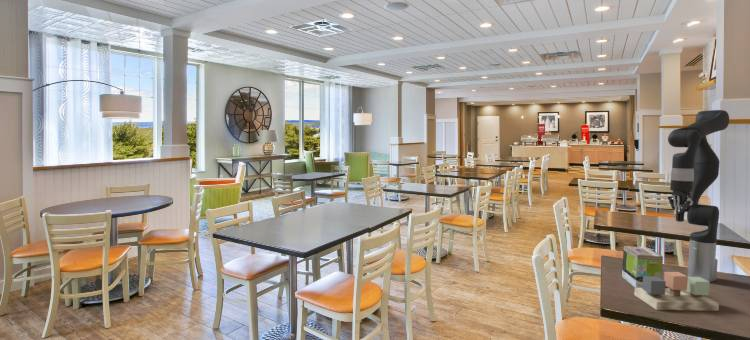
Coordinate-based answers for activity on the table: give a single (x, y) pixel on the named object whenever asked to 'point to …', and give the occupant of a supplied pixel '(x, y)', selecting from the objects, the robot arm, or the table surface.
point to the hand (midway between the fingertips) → (679, 221)
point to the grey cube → (654, 285)
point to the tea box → (640, 264)
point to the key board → (677, 300)
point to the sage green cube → (698, 286)
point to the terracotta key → (676, 280)
